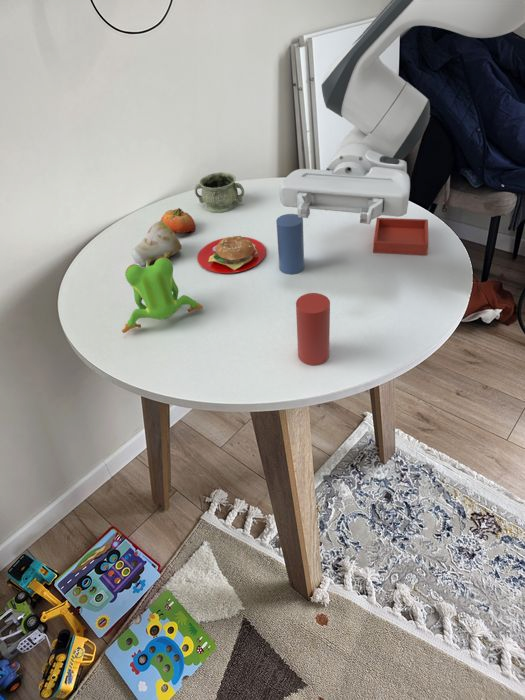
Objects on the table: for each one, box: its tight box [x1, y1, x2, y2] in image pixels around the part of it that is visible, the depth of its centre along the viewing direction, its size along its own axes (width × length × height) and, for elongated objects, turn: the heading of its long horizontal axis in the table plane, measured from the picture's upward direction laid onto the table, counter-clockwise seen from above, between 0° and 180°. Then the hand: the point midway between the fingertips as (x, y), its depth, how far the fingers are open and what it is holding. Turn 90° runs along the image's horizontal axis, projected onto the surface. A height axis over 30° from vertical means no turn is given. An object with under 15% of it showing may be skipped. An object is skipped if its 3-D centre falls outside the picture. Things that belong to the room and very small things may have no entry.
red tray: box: [372, 217, 429, 256], centre depth 98 cm, size 10×10×2 cm
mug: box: [130, 220, 182, 267], centre depth 99 cm, size 8×10×10 cm
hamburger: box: [197, 235, 267, 274], centre depth 97 cm, size 14×14×6 cm
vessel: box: [194, 171, 245, 213], centre depth 115 cm, size 12×9×6 cm
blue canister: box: [275, 213, 305, 275], centre depth 91 cm, size 5×5×10 cm
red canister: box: [295, 292, 331, 366], centre depth 72 cm, size 5×5×10 cm
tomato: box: [160, 207, 196, 234], centre depth 108 cm, size 8×7×7 cm
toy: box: [121, 257, 204, 334], centre depth 83 cm, size 14×9×10 cm, turn 112°
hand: (333, 216), depth 72 cm, fingers open, 8 cm apart
